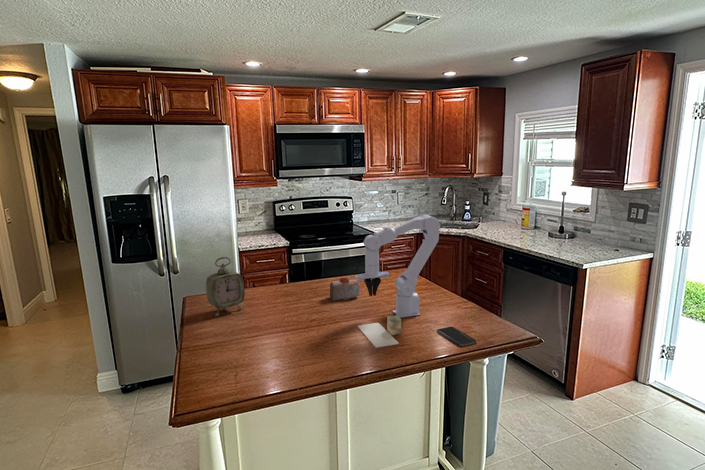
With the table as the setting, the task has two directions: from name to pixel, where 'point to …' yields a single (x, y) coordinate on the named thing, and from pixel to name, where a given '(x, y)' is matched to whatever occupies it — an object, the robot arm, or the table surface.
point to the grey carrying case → (344, 289)
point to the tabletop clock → (225, 288)
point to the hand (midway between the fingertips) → (372, 295)
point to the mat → (377, 335)
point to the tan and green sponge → (394, 325)
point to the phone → (456, 336)
